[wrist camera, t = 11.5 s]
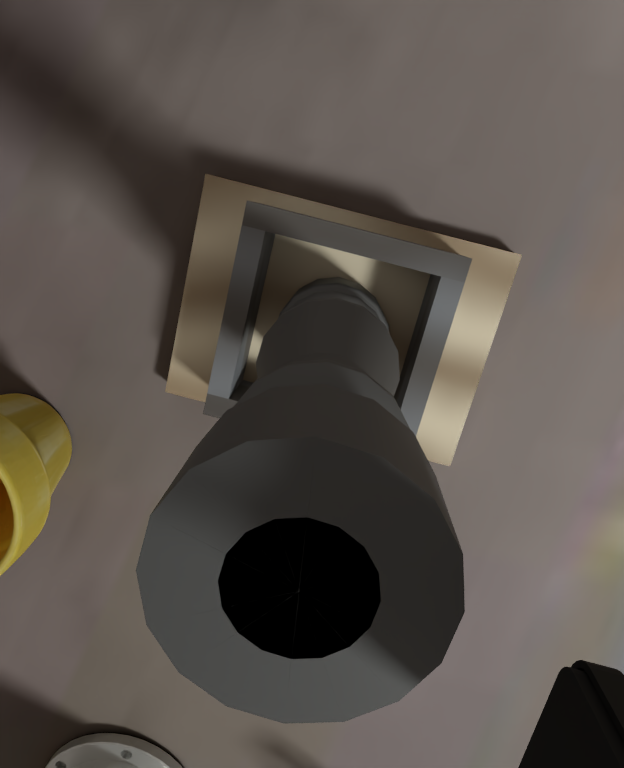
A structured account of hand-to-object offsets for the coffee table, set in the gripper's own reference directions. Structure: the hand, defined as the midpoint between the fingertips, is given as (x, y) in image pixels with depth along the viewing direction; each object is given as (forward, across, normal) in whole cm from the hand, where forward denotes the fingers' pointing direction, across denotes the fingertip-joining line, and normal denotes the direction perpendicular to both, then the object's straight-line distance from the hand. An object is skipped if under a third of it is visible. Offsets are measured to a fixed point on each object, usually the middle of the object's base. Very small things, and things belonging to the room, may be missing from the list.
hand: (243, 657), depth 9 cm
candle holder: (+26, 0, -1) cm, 27 cm away
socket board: (+28, 0, -1) cm, 28 cm away
